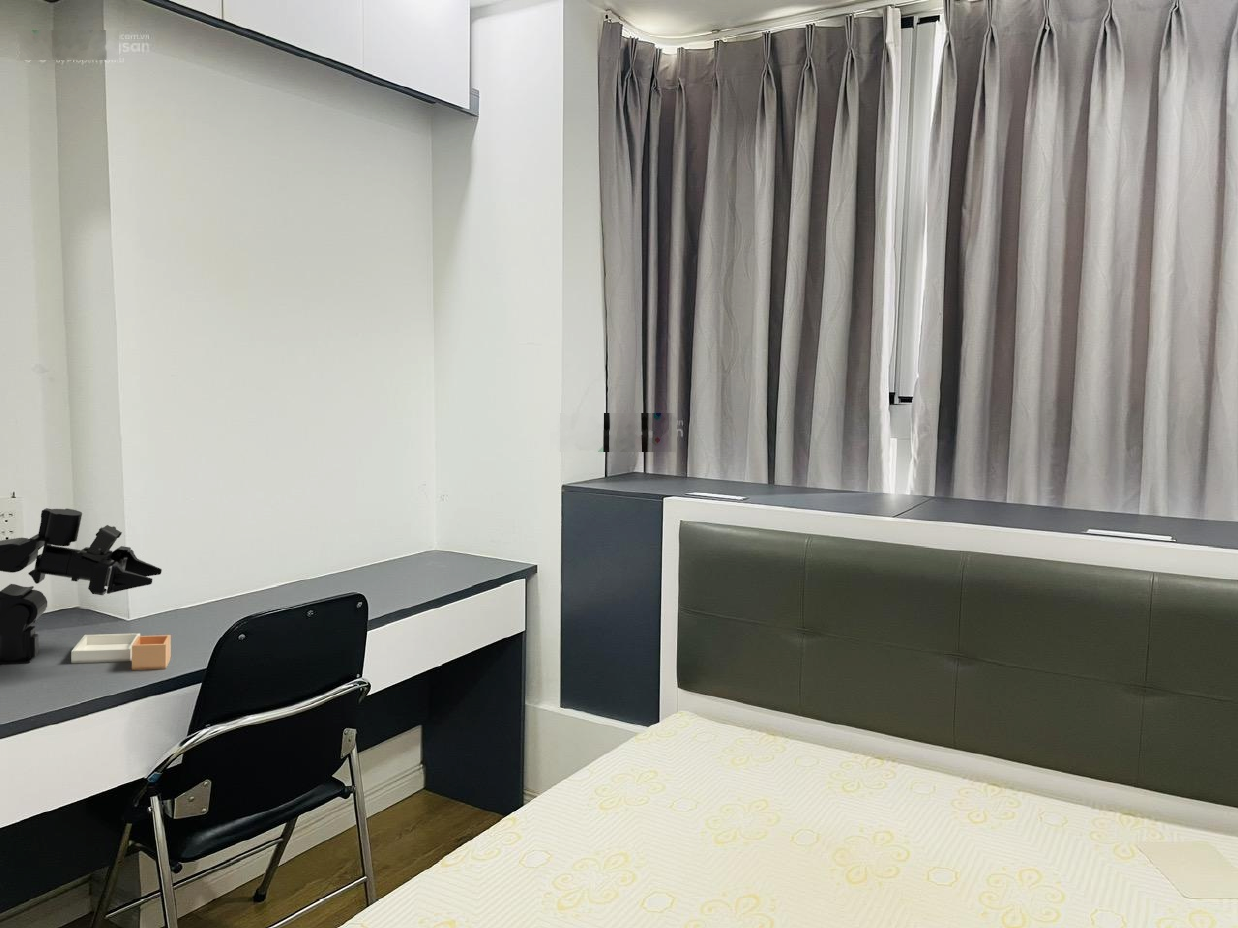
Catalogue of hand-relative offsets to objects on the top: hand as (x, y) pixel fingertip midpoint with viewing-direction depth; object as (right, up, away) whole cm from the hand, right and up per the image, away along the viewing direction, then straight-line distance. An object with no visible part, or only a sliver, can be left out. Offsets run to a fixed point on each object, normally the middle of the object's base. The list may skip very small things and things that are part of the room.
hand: (156, 576), depth 184 cm
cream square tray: (-11, -16, +1) cm, 19 cm away
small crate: (+1, -17, -4) cm, 18 cm away
